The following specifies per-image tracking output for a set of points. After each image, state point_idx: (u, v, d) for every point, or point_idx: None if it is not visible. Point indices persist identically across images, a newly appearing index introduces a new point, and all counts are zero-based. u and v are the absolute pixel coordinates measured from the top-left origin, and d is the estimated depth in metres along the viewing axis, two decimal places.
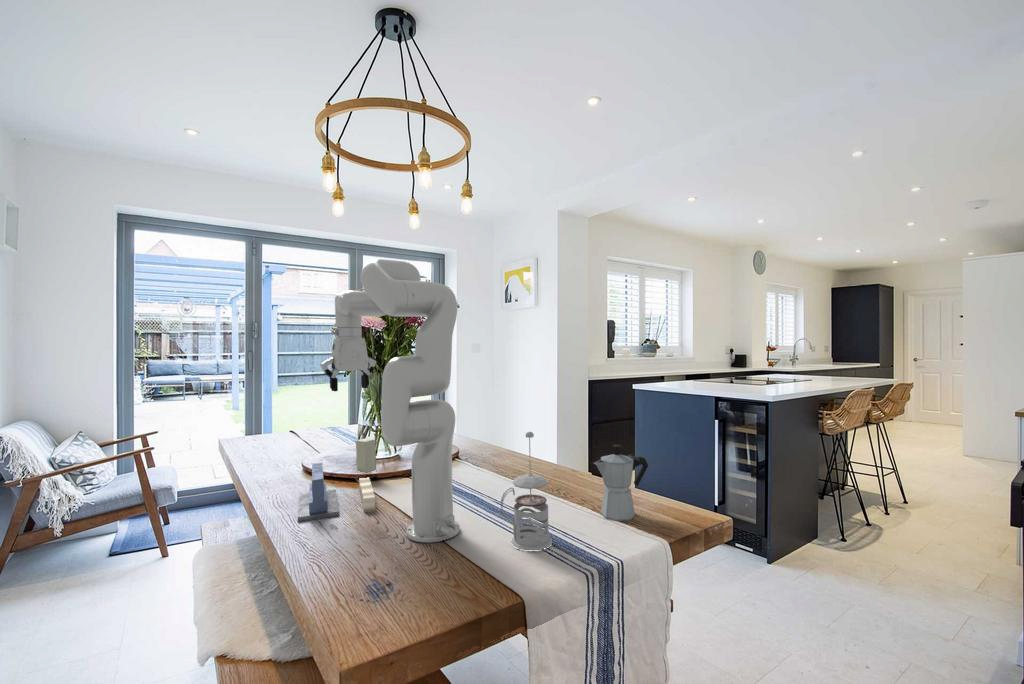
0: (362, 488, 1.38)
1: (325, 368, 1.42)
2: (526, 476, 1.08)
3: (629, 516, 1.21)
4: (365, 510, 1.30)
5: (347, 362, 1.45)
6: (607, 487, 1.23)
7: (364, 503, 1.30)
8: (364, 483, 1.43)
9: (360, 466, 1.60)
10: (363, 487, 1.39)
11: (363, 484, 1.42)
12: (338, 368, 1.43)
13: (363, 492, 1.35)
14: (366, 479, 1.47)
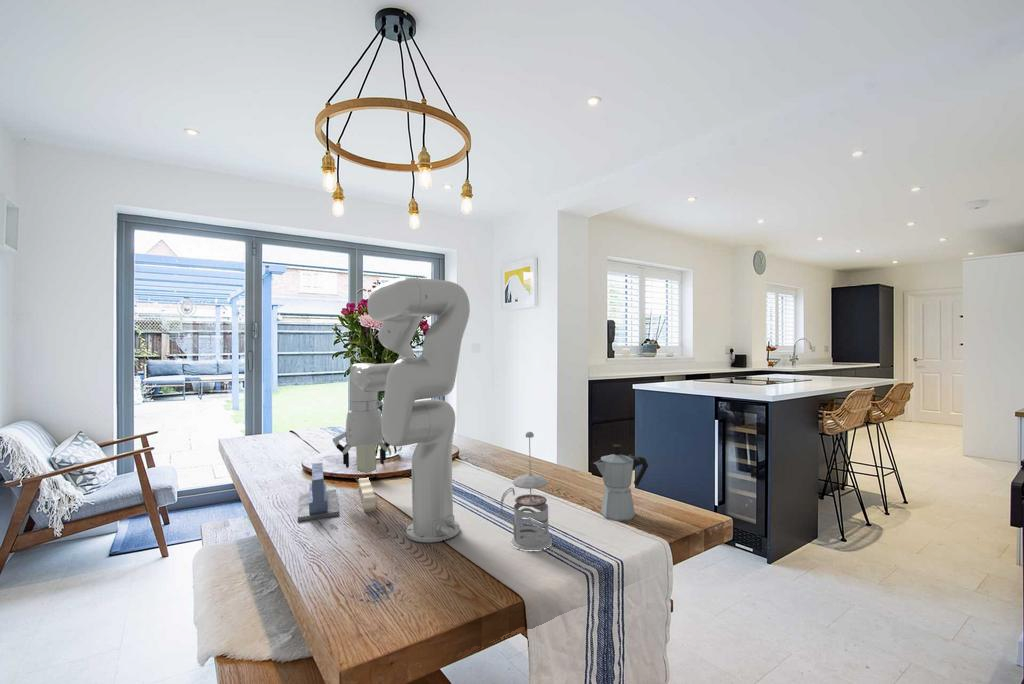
0: (362, 488, 1.38)
1: None
2: (526, 476, 1.08)
3: (629, 516, 1.21)
4: (365, 510, 1.30)
5: None
6: (607, 487, 1.23)
7: (364, 503, 1.30)
8: (363, 483, 1.43)
9: (360, 466, 1.60)
10: (363, 487, 1.39)
11: (363, 484, 1.42)
12: None
13: (363, 492, 1.35)
14: (365, 479, 1.47)
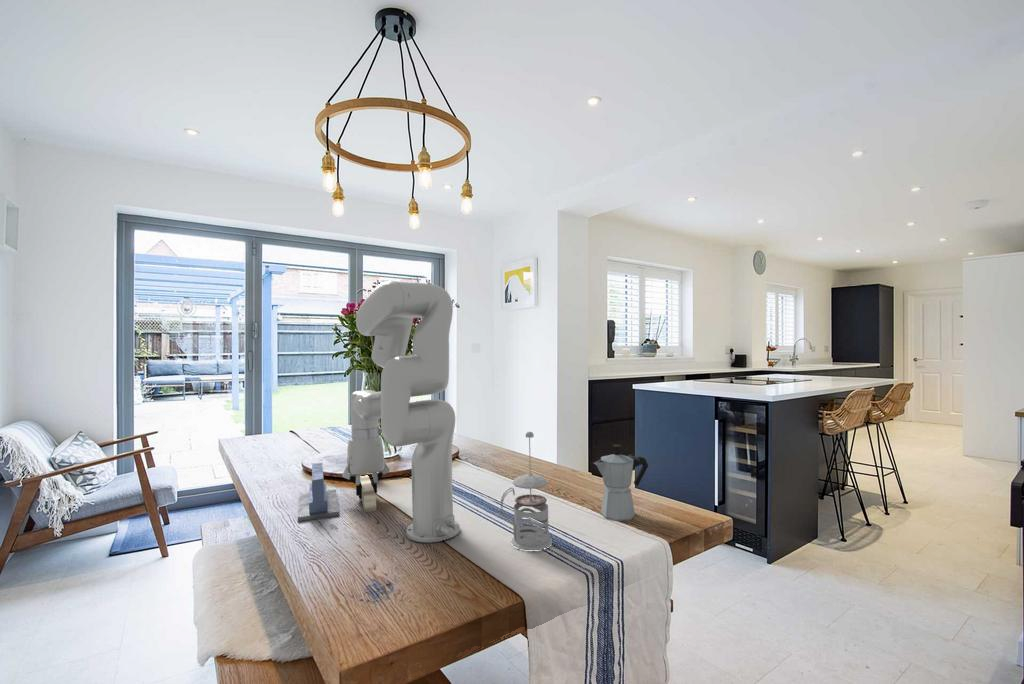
0: (362, 487, 1.38)
1: None
2: (526, 476, 1.08)
3: (629, 516, 1.21)
4: (366, 509, 1.30)
5: None
6: (607, 487, 1.23)
7: (365, 502, 1.30)
8: (363, 481, 1.43)
9: None
10: (363, 486, 1.39)
11: (363, 482, 1.42)
12: None
13: (364, 491, 1.35)
14: (365, 477, 1.47)
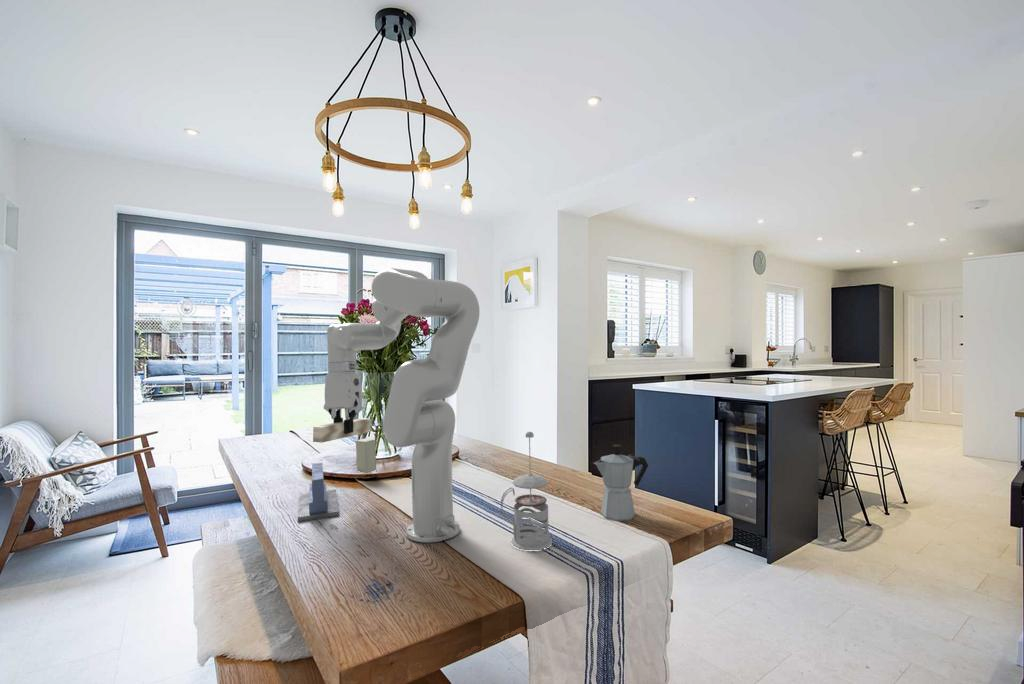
0: (338, 422, 1.37)
1: None
2: (526, 476, 1.08)
3: (629, 516, 1.21)
4: (314, 439, 1.28)
5: None
6: (607, 487, 1.23)
7: (314, 432, 1.28)
8: None
9: (360, 466, 1.60)
10: (341, 422, 1.37)
11: None
12: None
13: (328, 424, 1.33)
14: (364, 419, 1.44)
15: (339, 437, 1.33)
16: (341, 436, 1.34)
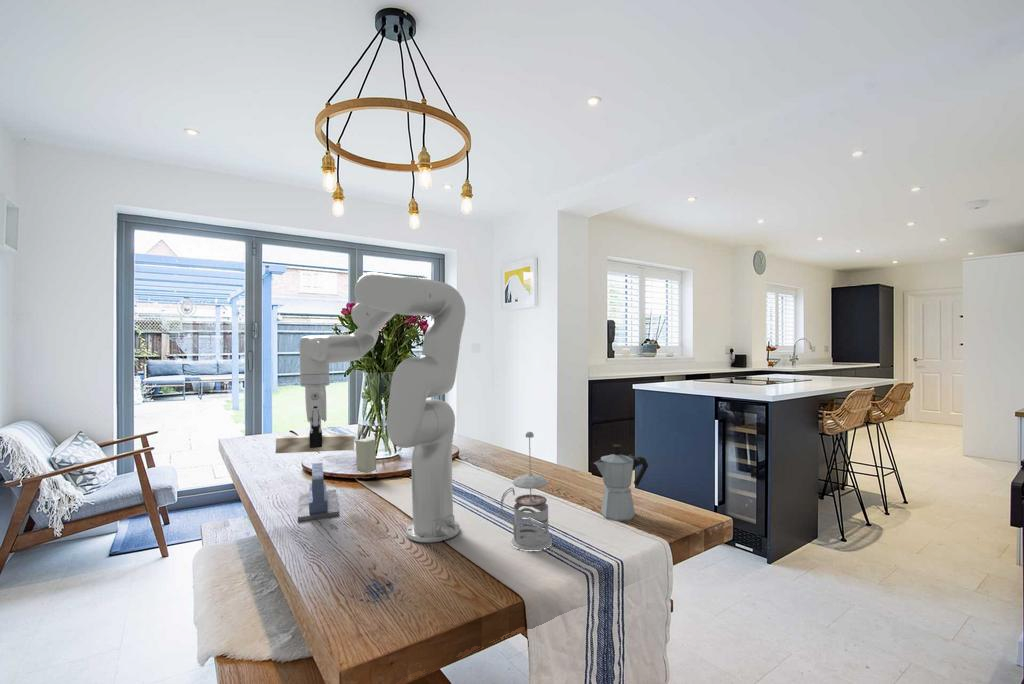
0: None
1: (318, 425, 1.30)
2: (526, 476, 1.08)
3: (629, 516, 1.21)
4: None
5: None
6: (607, 487, 1.23)
7: None
8: (332, 435, 1.36)
9: (360, 466, 1.60)
10: None
11: (326, 435, 1.36)
12: (325, 419, 1.31)
13: None
14: (347, 435, 1.37)
15: (302, 450, 1.32)
16: (305, 450, 1.32)
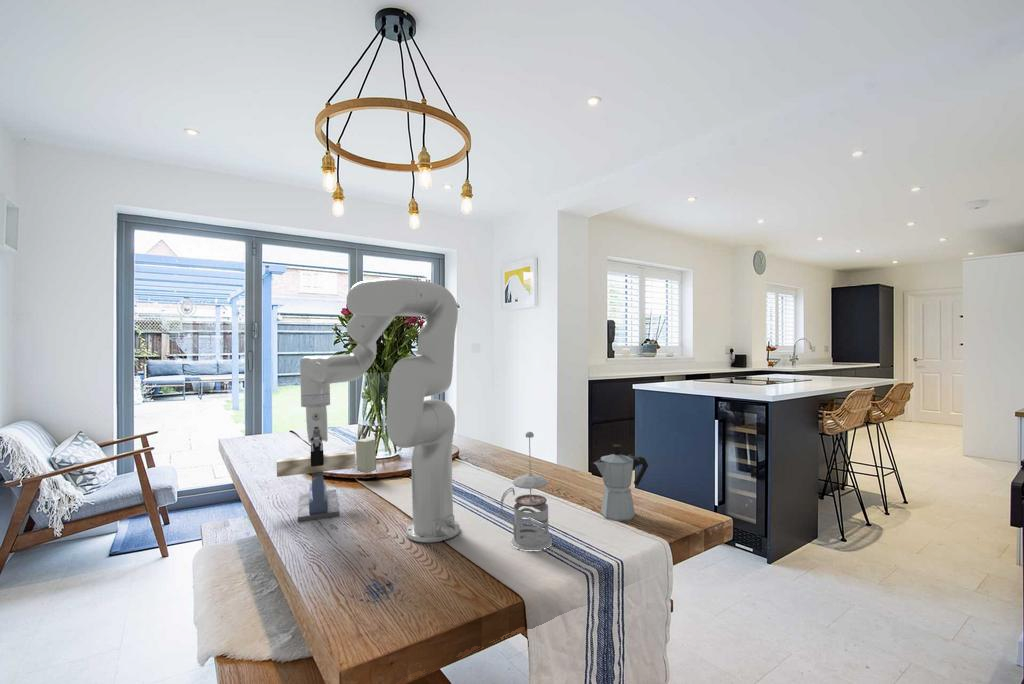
0: None
1: (319, 441, 1.27)
2: (526, 476, 1.08)
3: (629, 516, 1.21)
4: None
5: None
6: (607, 487, 1.23)
7: None
8: (332, 454, 1.36)
9: (360, 466, 1.59)
10: None
11: (327, 455, 1.36)
12: (326, 439, 1.31)
13: (298, 457, 1.34)
14: (347, 453, 1.37)
15: (303, 472, 1.32)
16: (306, 471, 1.32)
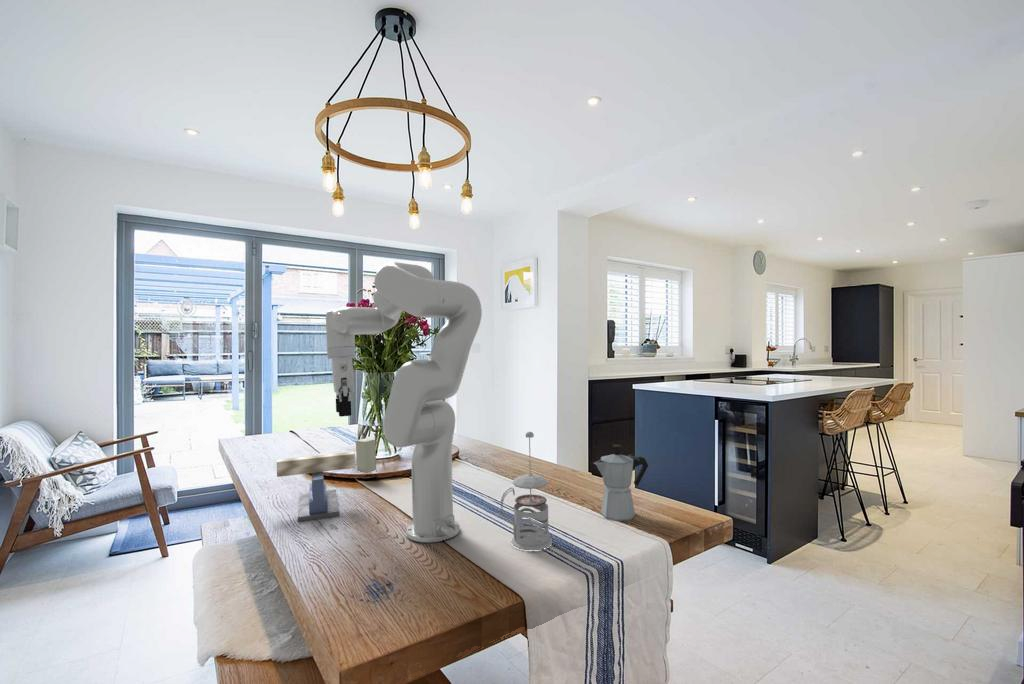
0: (313, 456, 1.35)
1: (347, 391, 1.30)
2: (526, 476, 1.08)
3: (629, 516, 1.21)
4: None
5: None
6: (607, 487, 1.23)
7: None
8: (332, 454, 1.36)
9: (360, 466, 1.60)
10: (316, 456, 1.35)
11: (327, 455, 1.36)
12: None
13: (298, 457, 1.34)
14: (347, 453, 1.37)
15: (303, 472, 1.32)
16: (306, 471, 1.32)
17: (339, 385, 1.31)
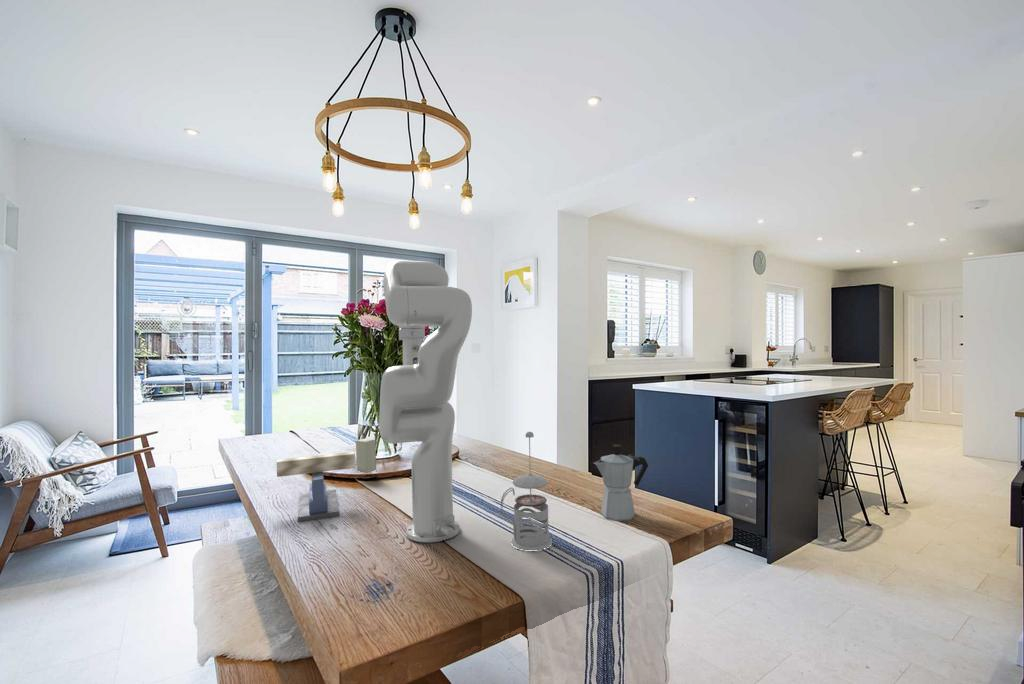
0: (313, 456, 1.35)
1: None
2: (526, 476, 1.08)
3: (629, 516, 1.21)
4: None
5: None
6: (607, 487, 1.23)
7: None
8: (332, 454, 1.36)
9: (360, 466, 1.60)
10: (316, 456, 1.35)
11: (327, 455, 1.36)
12: None
13: (298, 457, 1.34)
14: (347, 453, 1.37)
15: (303, 472, 1.32)
16: (306, 471, 1.32)
17: (411, 365, 1.38)
